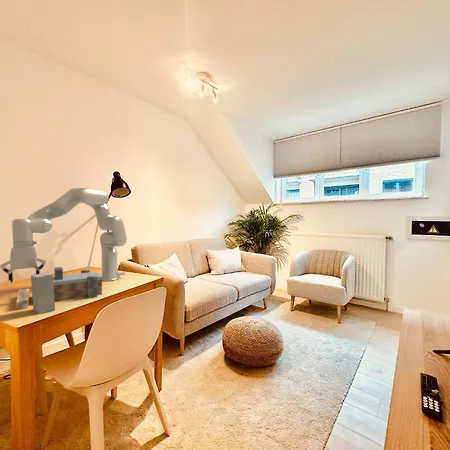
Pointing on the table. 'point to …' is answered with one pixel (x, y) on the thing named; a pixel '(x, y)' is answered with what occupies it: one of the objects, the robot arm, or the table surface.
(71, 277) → the lid
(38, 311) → the skincare box
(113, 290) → the table surface
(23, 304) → the smooth beige tapered object
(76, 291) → the brown wooden box
